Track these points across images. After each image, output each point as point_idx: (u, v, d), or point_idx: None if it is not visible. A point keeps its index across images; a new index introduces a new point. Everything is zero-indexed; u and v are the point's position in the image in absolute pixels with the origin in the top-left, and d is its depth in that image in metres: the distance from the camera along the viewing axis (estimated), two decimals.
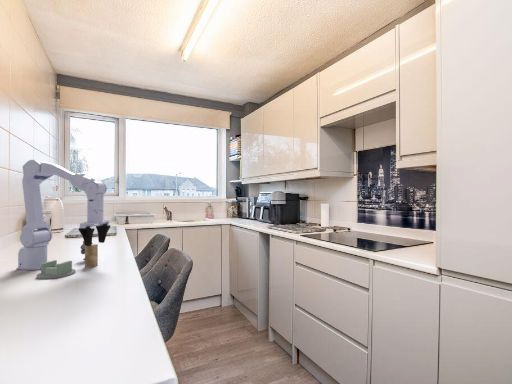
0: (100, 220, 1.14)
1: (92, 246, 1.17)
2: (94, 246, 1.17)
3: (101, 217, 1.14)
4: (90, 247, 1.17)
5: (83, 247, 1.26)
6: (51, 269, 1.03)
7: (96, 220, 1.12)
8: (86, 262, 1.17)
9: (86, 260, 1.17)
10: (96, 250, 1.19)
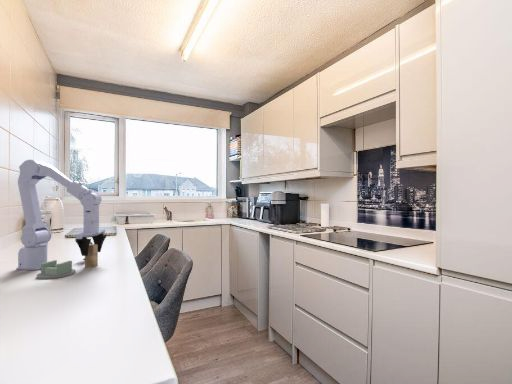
0: (96, 230, 1.17)
1: (92, 246, 1.17)
2: (94, 246, 1.17)
3: (97, 227, 1.18)
4: (90, 247, 1.17)
5: None
6: (51, 269, 1.03)
7: (92, 231, 1.16)
8: (86, 262, 1.17)
9: (86, 260, 1.17)
10: (96, 250, 1.18)
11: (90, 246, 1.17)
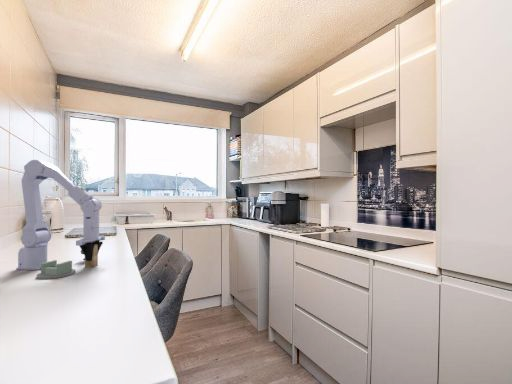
0: (96, 237, 1.17)
1: None
2: (94, 246, 1.17)
3: (97, 234, 1.18)
4: None
5: None
6: (51, 269, 1.03)
7: (92, 237, 1.16)
8: (86, 262, 1.17)
9: None
10: (96, 250, 1.18)
11: None
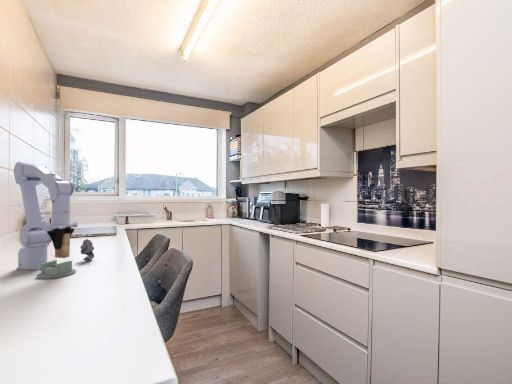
0: (66, 222, 1.06)
1: (63, 235, 1.06)
2: (66, 235, 1.06)
3: (67, 219, 1.07)
4: None
5: (83, 247, 1.26)
6: (51, 269, 1.03)
7: (61, 222, 1.05)
8: (56, 253, 1.06)
9: (56, 250, 1.06)
10: (68, 240, 1.08)
11: None
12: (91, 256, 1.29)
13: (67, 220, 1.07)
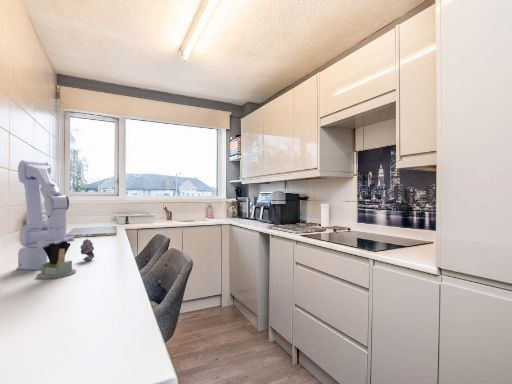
0: (62, 237, 1.05)
1: None
2: (60, 250, 1.05)
3: (63, 234, 1.06)
4: None
5: (83, 247, 1.26)
6: (51, 269, 1.03)
7: (57, 238, 1.04)
8: None
9: (51, 266, 1.05)
10: (63, 255, 1.06)
11: None
12: (91, 256, 1.29)
13: (63, 235, 1.06)
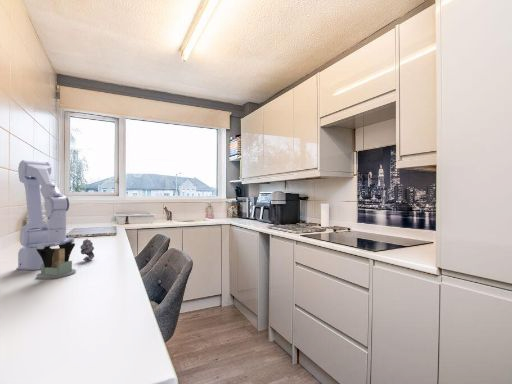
0: (62, 239, 1.05)
1: (58, 250, 1.05)
2: (60, 250, 1.05)
3: (63, 236, 1.06)
4: (55, 252, 1.05)
5: (83, 247, 1.26)
6: (51, 269, 1.03)
7: (57, 239, 1.04)
8: None
9: (51, 266, 1.05)
10: (63, 255, 1.06)
11: (55, 250, 1.05)
12: (91, 256, 1.29)
13: (63, 236, 1.06)
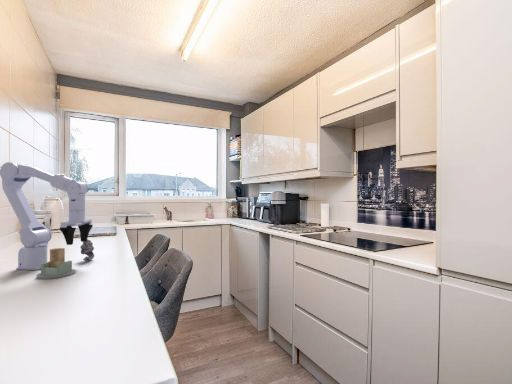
0: (81, 219, 1.16)
1: (58, 250, 1.05)
2: (60, 250, 1.05)
3: (82, 216, 1.17)
4: (55, 252, 1.05)
5: (83, 247, 1.26)
6: (51, 269, 1.03)
7: (77, 219, 1.15)
8: None
9: (51, 266, 1.05)
10: (63, 255, 1.06)
11: (55, 250, 1.05)
12: (91, 256, 1.29)
13: (82, 217, 1.17)
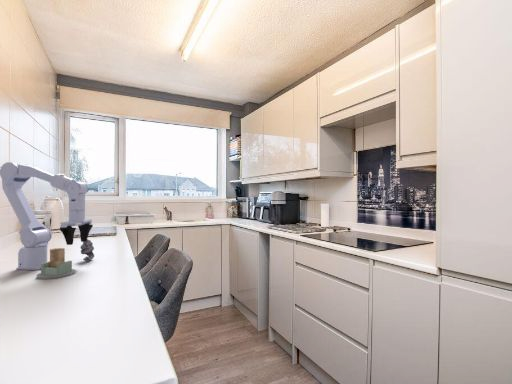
0: (81, 219, 1.16)
1: (58, 250, 1.05)
2: (60, 250, 1.05)
3: (82, 216, 1.17)
4: (55, 252, 1.05)
5: (83, 247, 1.26)
6: (51, 269, 1.03)
7: (77, 219, 1.15)
8: None
9: (51, 266, 1.05)
10: (63, 255, 1.06)
11: (55, 250, 1.05)
12: (91, 256, 1.29)
13: (83, 217, 1.17)
